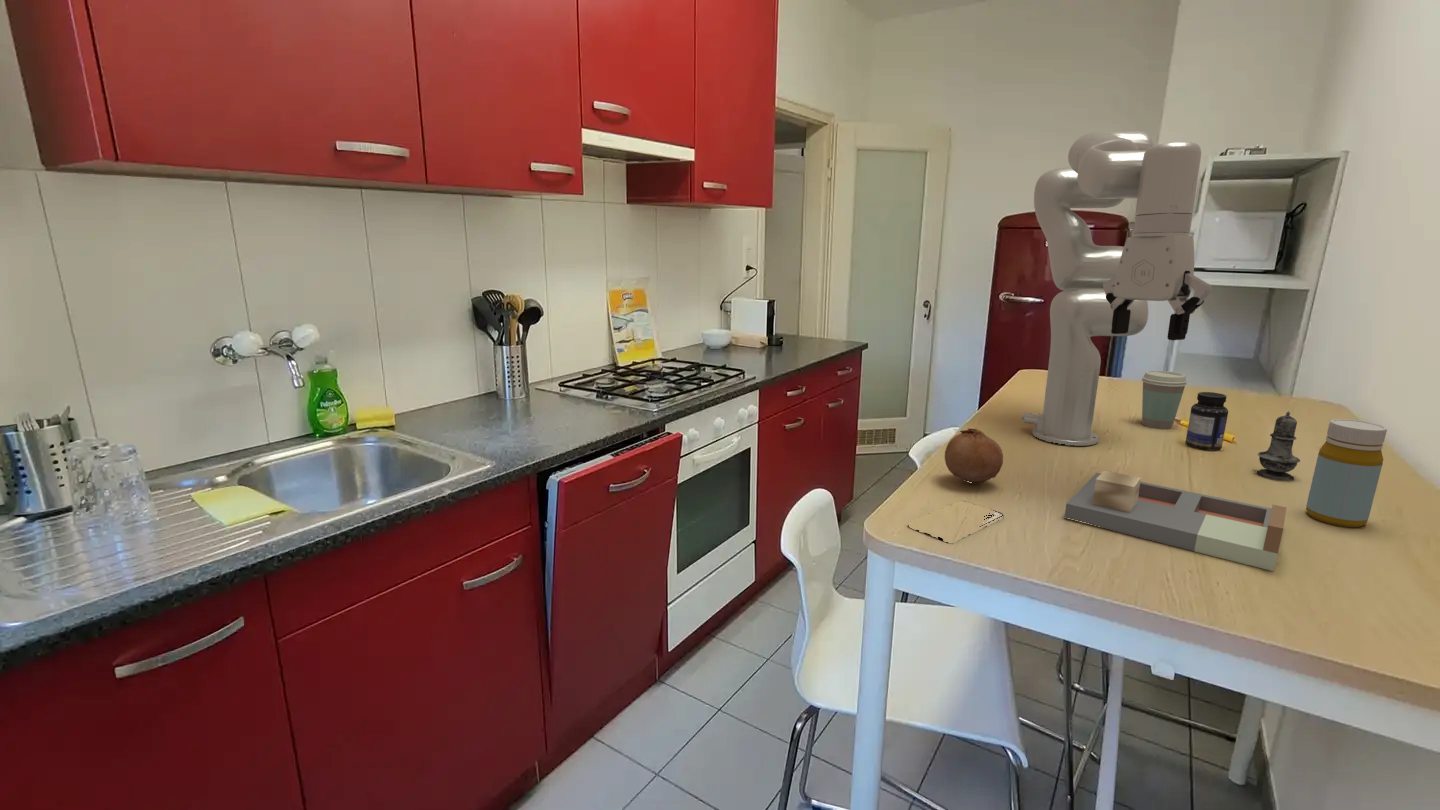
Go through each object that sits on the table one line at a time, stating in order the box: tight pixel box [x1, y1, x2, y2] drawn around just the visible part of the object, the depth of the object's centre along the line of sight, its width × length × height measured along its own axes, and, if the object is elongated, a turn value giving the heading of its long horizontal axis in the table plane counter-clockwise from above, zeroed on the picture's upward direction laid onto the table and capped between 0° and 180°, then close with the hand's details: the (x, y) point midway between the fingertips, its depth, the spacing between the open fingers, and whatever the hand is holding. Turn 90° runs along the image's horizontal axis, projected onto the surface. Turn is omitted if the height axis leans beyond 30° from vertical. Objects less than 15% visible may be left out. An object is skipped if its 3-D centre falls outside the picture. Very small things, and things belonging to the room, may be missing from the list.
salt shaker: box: [1255, 410, 1301, 482], centre depth 118 cm, size 6×6×12 cm
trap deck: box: [1064, 472, 1287, 572], centre depth 99 cm, size 25×18×6 cm
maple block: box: [1093, 470, 1142, 512], centre depth 101 cm, size 5×5×4 cm
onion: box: [944, 427, 1004, 484], centre depth 115 cm, size 10×9×10 cm
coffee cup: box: [1141, 370, 1188, 430], centre depth 149 cm, size 8×9×12 cm
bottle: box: [1305, 418, 1388, 528], centre depth 99 cm, size 7×7×15 cm
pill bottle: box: [1185, 391, 1229, 451], centre depth 134 cm, size 6×6×11 cm
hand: (1146, 336), depth 107 cm, fingers open, 9 cm apart
